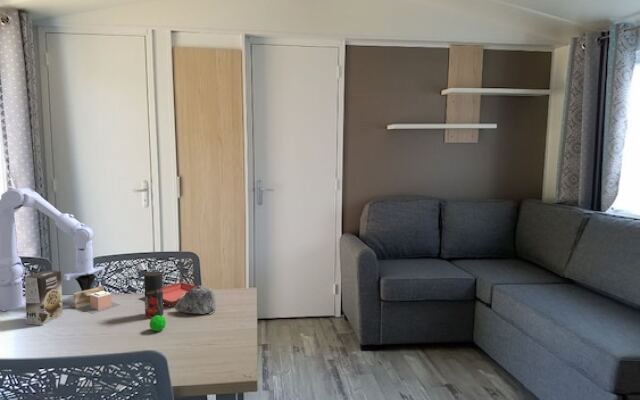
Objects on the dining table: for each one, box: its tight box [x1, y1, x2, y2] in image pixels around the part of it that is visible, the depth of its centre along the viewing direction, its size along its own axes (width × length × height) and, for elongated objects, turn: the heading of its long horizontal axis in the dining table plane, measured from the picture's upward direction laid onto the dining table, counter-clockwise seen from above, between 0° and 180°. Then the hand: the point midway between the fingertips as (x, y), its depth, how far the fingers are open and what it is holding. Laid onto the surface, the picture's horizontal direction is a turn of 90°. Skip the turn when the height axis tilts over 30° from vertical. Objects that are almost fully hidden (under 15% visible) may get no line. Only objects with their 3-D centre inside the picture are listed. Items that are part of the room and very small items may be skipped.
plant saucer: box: [143, 282, 197, 307], centre depth 173 cm, size 18×18×3 cm
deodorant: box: [143, 270, 164, 319], centre depth 154 cm, size 6×6×15 cm
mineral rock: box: [173, 285, 217, 315], centre depth 158 cm, size 13×11×10 cm
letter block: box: [90, 290, 112, 310], centre depth 160 cm, size 5×5×5 cm
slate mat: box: [62, 295, 121, 315], centre depth 165 cm, size 25×11×1 cm, turn 59°
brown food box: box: [24, 270, 64, 326], centre depth 148 cm, size 9×6×16 cm
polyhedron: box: [149, 315, 167, 332], centre depth 141 cm, size 5×5×5 cm
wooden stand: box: [72, 285, 105, 309], centre depth 163 cm, size 6×11×5 cm, turn 149°
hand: (85, 294), depth 165 cm, fingers closed, pressing on wooden stand
